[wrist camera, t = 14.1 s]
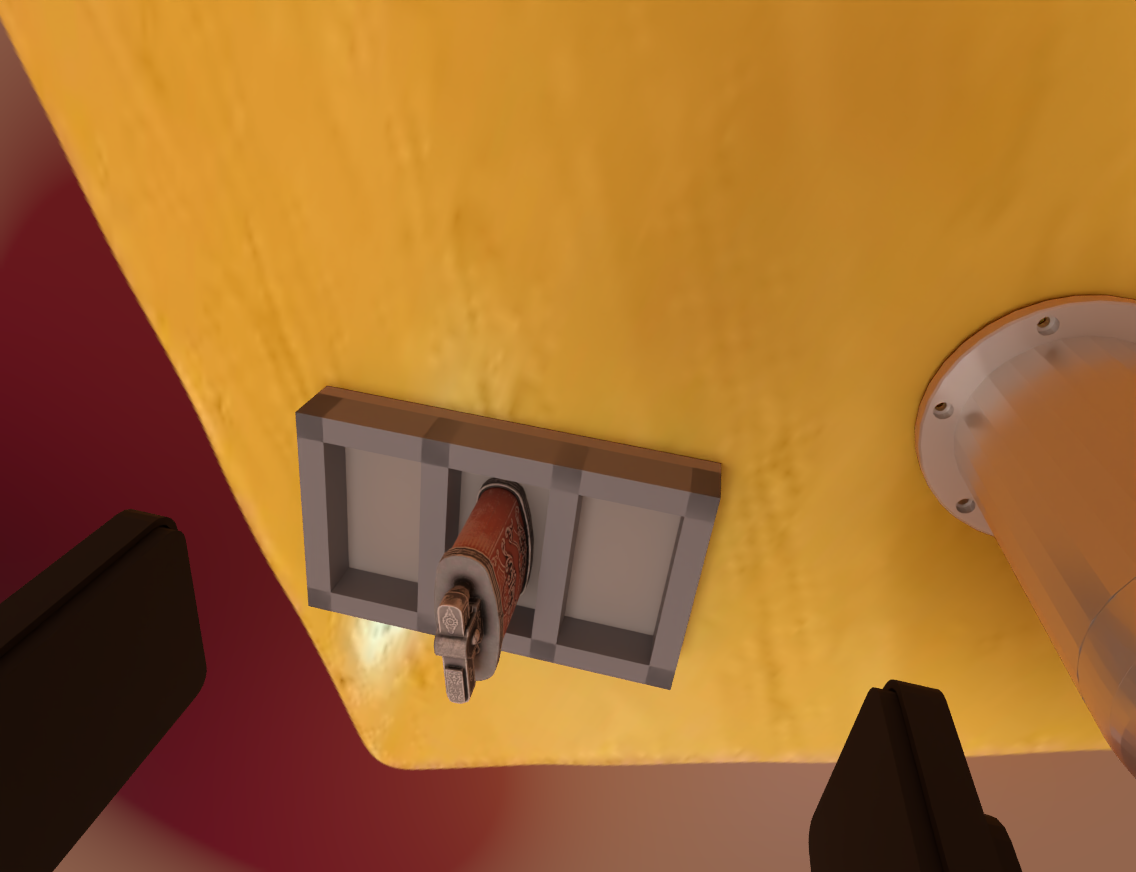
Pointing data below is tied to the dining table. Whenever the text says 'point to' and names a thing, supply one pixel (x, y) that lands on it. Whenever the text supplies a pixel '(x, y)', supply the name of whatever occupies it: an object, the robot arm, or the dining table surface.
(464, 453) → the tray
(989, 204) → the dining table surface
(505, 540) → the lighter
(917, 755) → the robot arm
